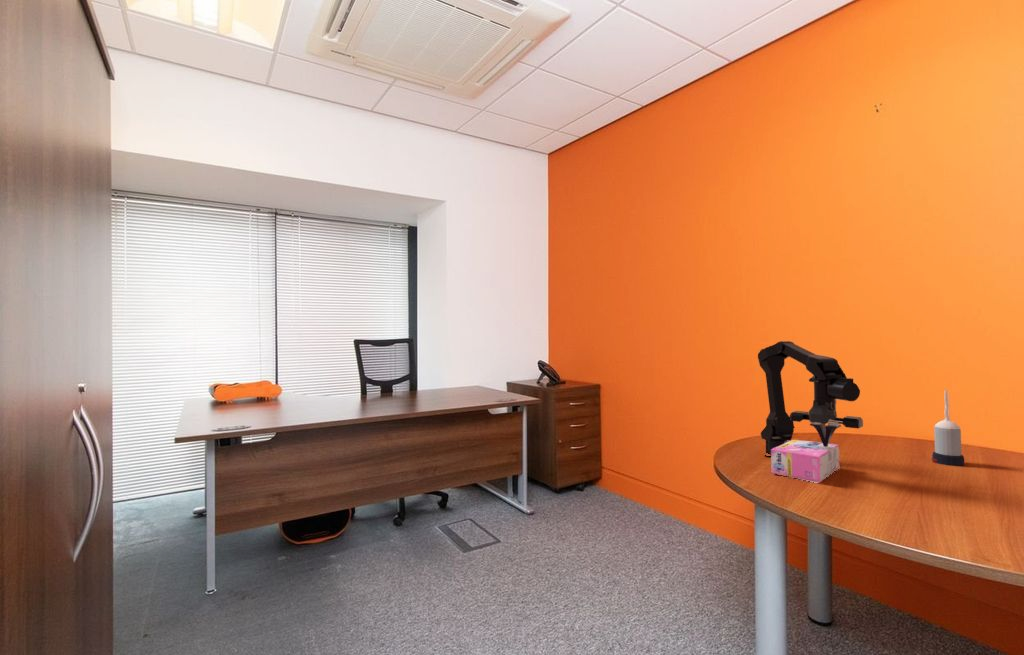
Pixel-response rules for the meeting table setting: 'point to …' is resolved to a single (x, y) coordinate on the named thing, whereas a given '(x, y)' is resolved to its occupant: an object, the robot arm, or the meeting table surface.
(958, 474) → the meeting table surface
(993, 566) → the meeting table surface
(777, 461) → the gum box
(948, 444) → the humidifier
